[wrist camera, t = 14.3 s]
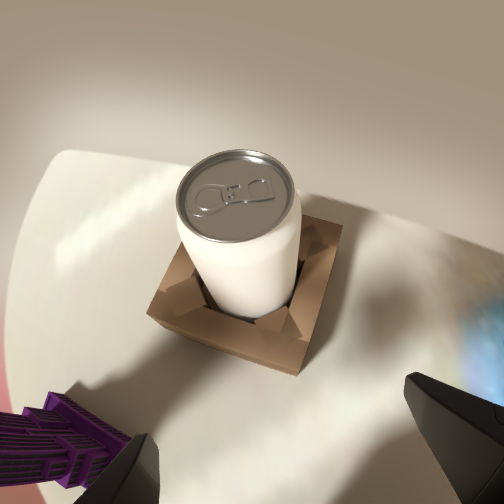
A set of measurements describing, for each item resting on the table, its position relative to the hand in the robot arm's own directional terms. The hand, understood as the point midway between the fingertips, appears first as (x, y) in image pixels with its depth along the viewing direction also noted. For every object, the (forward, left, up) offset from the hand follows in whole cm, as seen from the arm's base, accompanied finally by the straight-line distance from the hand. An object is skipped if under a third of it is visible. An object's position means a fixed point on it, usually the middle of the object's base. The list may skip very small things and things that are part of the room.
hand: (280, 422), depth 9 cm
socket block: (+5, +9, -14) cm, 17 cm away
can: (+5, +9, -13) cm, 16 cm away
